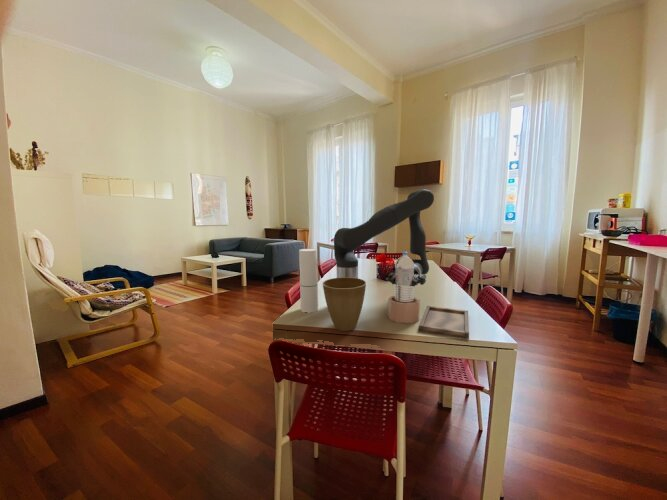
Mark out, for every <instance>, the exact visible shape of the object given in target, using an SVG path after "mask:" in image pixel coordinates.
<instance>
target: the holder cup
mask: <svg viewBox="0 0 667 500" xmlns="http://www.w3.org/2000/svg"><path fill="white" fill-rule="evenodd" d="M387 304H388V305H387V306H388V307H387V315H388V318H389V319H390V320H391V321H393V322H396V323H400V324H414V323H417V322H419V320H420V309H421V307H420V305H421V301H420V299H419V298H418V297H415V296H413V303H398V302H395V295H392V296H390V297H388V302H387Z"/></svg>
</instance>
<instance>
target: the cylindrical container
mask: <svg viewBox="0 0 667 500" xmlns="http://www.w3.org/2000/svg"><path fill="white" fill-rule="evenodd" d="M298 257H299V258H298V260H299V261H298V263H299V287H300V289H299V290H300V292H299V294H300V312H302V313H304V312H307V313H306V314H312V313H311V312H313V313H316V312H318V311H319V287H318V285H319V284H318V283H319V282H318V281H319V280H318V249H317V248H302V249H298ZM317 310H318V311H317Z"/></svg>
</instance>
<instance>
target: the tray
mask: <svg viewBox="0 0 667 500" xmlns="http://www.w3.org/2000/svg"><path fill="white" fill-rule="evenodd" d="M420 319H421V320H420V322H419V325H418V332H424V333H431V334H437V335H442V336H448V337H453V338H460V337H461V339H466V338H468V339H467V340H469V339H470V325H469V323H470V322H469V310H466V309H465V310H463V309H455V308H448V307H441V306H431V305H426V308H425V310H424V311H423V315H422V318H420Z"/></svg>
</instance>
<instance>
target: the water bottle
mask: <svg viewBox="0 0 667 500" xmlns="http://www.w3.org/2000/svg"><path fill="white" fill-rule="evenodd" d="M401 253H402V256H400V257H398V258H397V260H396V262H395V263H394V266H395V271H394V273H395V284H394V296H395V302H398V303H413V297H415V296H414V292H415V290H414V288H415V286H412V282H413V279H414V262H413V261H412V259H413V258H410V256H408V251H402V252H401Z"/></svg>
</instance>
